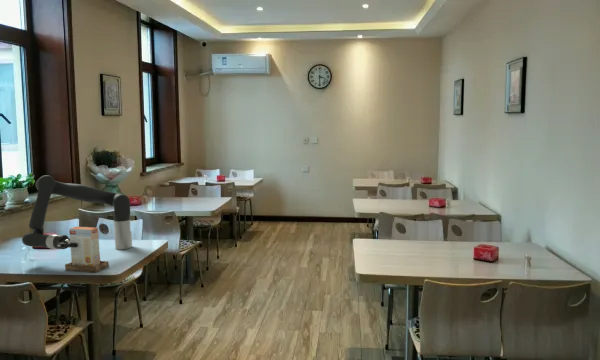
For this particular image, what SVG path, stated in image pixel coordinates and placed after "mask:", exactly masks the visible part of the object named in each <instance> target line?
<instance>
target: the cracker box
mask: <svg viewBox="0 0 600 360" xmlns="http://www.w3.org/2000/svg"><path fill="white" fill-rule="evenodd" d="M68 230H69V231H68V232H69V233H68V234H69V238H70V243H77V244H78V247H76V248H75V247H70V260H71V262H72V265H81V266H94V267H95V266H97V265H100V261H101V253H100V238H99V227H92V226H91V227H90V226H73V227H70V228H69V229H68Z"/></svg>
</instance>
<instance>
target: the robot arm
mask: <svg viewBox="0 0 600 360" xmlns="http://www.w3.org/2000/svg"><path fill="white" fill-rule="evenodd" d="M35 188H36V190H37V196H36V199H35V204H34V205H33V208H32V212H31V215H30V219H29V224H28V227H29V229H31V230H32V232H28V233H25V234H24V235H23V236H22V238H21V241H22V244H23V245H25V246H27V247H32V248H38V247H41V248H45V249H46V248H49V249H54V250H65V249H68V248H70V249H71V247H75V248H76V247H78V244H77V243H70V236H68V235H66V234H49V233H48V234H45V233H44V224H45V219H46V215H47V211H48V205H49V203H50V199H51V196H52V195H58V196H62V197H66V198H69V199H72V200H77V201H81V202H87V203H97V204H103V205H104V204H105V205H108V206H111V207H112V208H113V210H114V211H113V212H114V215H113V228H114V229H113V231H114V245H115V246H114V248H115V249H116V250H128V249H131V248H132V247H133V241H132V240H133V237H132V235H133V234H132V231H131V219H130V217H131V201H130V197H128V196H127V195H126V194H124V193H120V192H118V193H117V192H111V191H105V190H102V189H99V188H97V187H94V186H89V185H86V184H81V183H80V184H79V183H66V182H61V181H57V180H55V178H54V177H53V176H51V175H48V174H47V175H42V176H40V177H39V178H38V179H37V180H36V182H35Z"/></svg>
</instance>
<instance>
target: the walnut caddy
mask: <svg viewBox="0 0 600 360" xmlns="http://www.w3.org/2000/svg"><path fill="white" fill-rule="evenodd" d="M64 268H65V269H64V270H65V271H70V272H81V273H82V272H83V273H92V274H93V273H95V274H96V273H98V272H100V271H103V270H105V269H107V268H109V261H107V260H100V265H97V266H95V267H94V266H81V265H72V261H71V262H68V263H66V264H64Z"/></svg>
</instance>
